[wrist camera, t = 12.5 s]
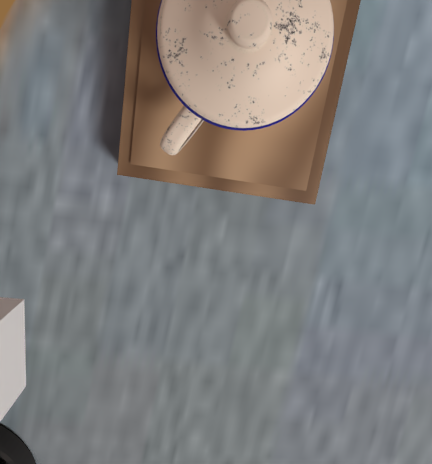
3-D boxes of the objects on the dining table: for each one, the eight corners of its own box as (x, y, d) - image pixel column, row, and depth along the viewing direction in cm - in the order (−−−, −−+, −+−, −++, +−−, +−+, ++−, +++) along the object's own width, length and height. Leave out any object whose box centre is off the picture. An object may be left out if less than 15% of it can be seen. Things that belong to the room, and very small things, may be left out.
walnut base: (125, 170, 32) (116, 174, 29) (144, -40, 28) (136, -61, 25) (306, 198, 33) (315, 205, 30) (349, -4, 29) (366, -20, 26)
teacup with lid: (226, -34, 26) (235, -166, 14) (323, 56, 27) (402, 1, 16) (125, 109, 28) (66, 94, 17) (220, 185, 29) (224, 217, 18)
